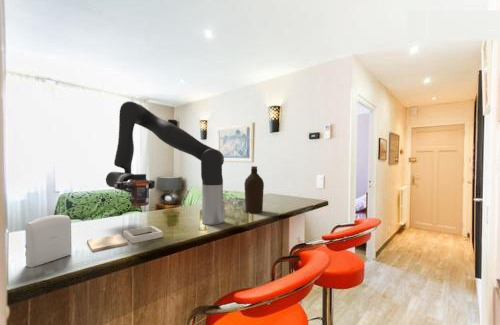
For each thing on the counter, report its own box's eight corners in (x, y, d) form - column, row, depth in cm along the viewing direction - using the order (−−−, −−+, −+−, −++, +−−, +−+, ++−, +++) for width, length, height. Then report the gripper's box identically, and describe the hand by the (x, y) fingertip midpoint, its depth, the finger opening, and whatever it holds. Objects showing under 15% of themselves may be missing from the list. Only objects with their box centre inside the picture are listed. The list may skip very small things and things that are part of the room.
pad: (119, 236, 88) (119, 234, 88) (127, 244, 80) (127, 242, 80) (86, 242, 82) (86, 240, 82) (92, 251, 74) (92, 249, 74)
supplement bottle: (152, 204, 89) (152, 174, 89) (137, 207, 84) (137, 175, 84) (143, 203, 92) (143, 173, 92) (127, 205, 87) (127, 174, 87)
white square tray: (152, 230, 96) (152, 225, 96) (162, 237, 88) (162, 231, 88) (123, 235, 89) (123, 230, 89) (131, 243, 81) (131, 237, 81)
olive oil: (252, 214, 125) (253, 166, 125) (240, 211, 134) (240, 166, 133) (267, 212, 132) (267, 166, 132) (255, 209, 140) (255, 166, 140)
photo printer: (30, 269, 62) (31, 220, 62) (22, 266, 64) (22, 219, 63) (74, 254, 71) (74, 213, 71) (65, 252, 73) (65, 211, 73)
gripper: (109, 174, 94) (120, 176, 81) (147, 173, 103) (162, 175, 91) (109, 193, 94) (120, 199, 81) (147, 190, 103) (162, 195, 91)
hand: (142, 186), depth 86 cm, fingers closed on supplement bottle, 6 cm apart
